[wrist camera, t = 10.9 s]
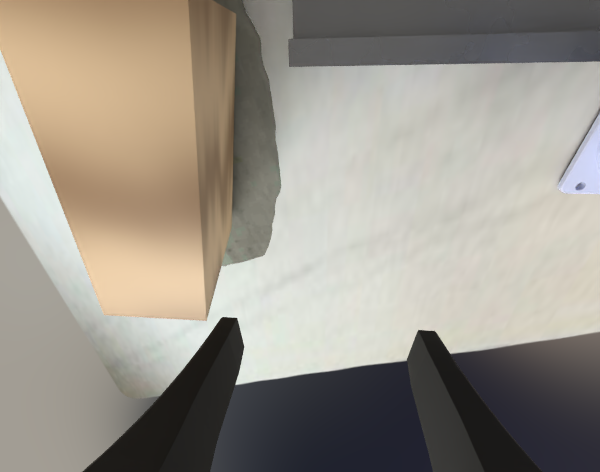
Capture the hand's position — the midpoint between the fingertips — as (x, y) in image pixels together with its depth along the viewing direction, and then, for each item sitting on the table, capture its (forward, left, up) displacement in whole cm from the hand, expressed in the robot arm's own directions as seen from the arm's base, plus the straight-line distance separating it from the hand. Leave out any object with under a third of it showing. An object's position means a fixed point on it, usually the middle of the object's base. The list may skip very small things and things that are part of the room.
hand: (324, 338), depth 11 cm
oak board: (+8, -6, -9) cm, 13 cm away
